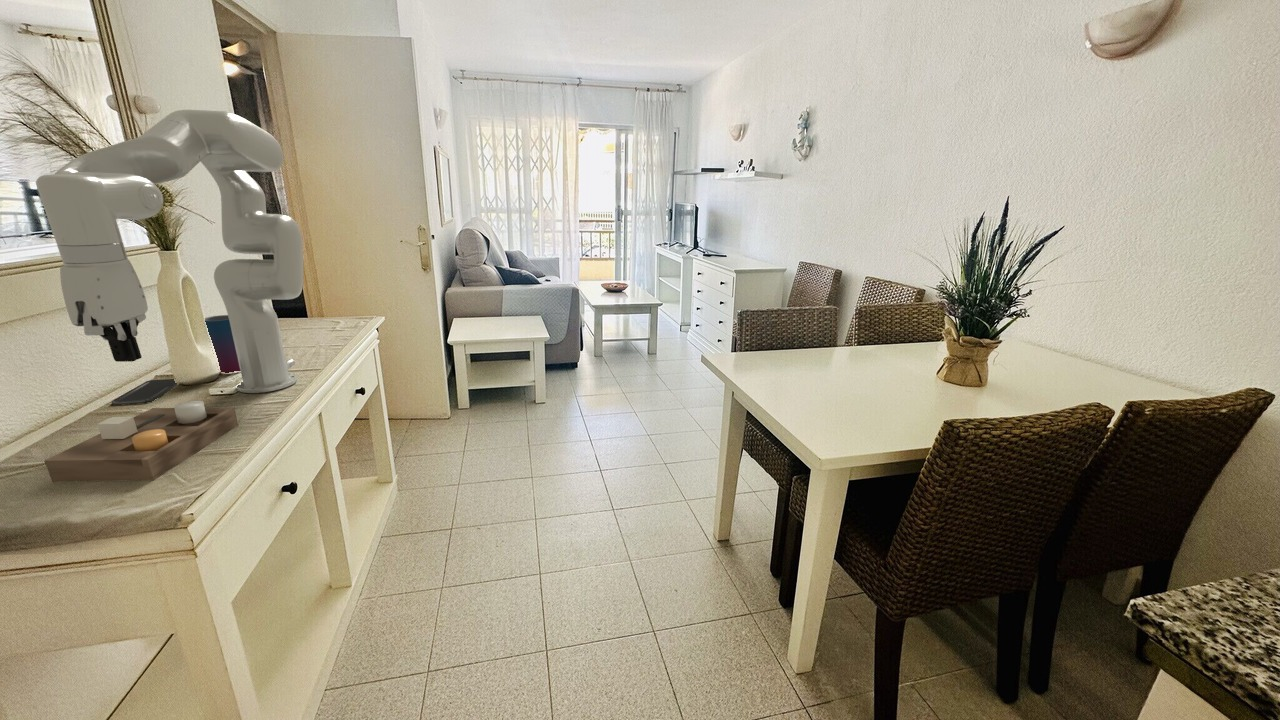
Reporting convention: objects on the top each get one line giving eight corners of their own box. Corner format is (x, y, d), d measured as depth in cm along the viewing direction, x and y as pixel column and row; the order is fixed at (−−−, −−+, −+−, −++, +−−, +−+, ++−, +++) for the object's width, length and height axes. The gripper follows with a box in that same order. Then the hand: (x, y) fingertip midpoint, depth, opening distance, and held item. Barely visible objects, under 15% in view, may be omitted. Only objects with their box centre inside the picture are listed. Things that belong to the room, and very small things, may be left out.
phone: (108, 402, 116) (148, 380, 130) (110, 407, 117) (149, 384, 130) (151, 399, 118) (185, 378, 132) (152, 404, 119) (186, 382, 132)
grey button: (189, 414, 104) (185, 400, 103) (212, 414, 104) (208, 400, 103) (171, 423, 99) (167, 409, 99) (196, 423, 100) (192, 409, 99)
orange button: (150, 444, 95) (145, 429, 94) (175, 443, 95) (171, 429, 94) (129, 455, 90) (124, 440, 90) (156, 455, 91) (151, 440, 90)
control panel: (157, 425, 108) (152, 407, 106) (238, 425, 109) (234, 407, 108) (52, 481, 87) (44, 460, 86) (153, 480, 88) (147, 458, 87)
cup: (243, 366, 144) (231, 313, 139) (250, 371, 140) (239, 317, 135) (212, 371, 139) (199, 317, 134) (219, 377, 135) (206, 322, 130)
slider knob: (116, 431, 96) (112, 417, 95) (137, 431, 96) (133, 416, 95) (102, 439, 93) (97, 423, 92) (123, 438, 93) (118, 423, 92)
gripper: (109, 248, 91) (140, 346, 97) (21, 261, 77) (64, 375, 83) (155, 248, 91) (183, 346, 98) (77, 262, 78) (115, 375, 84)
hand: (128, 359), depth 90 cm, fingers closed
